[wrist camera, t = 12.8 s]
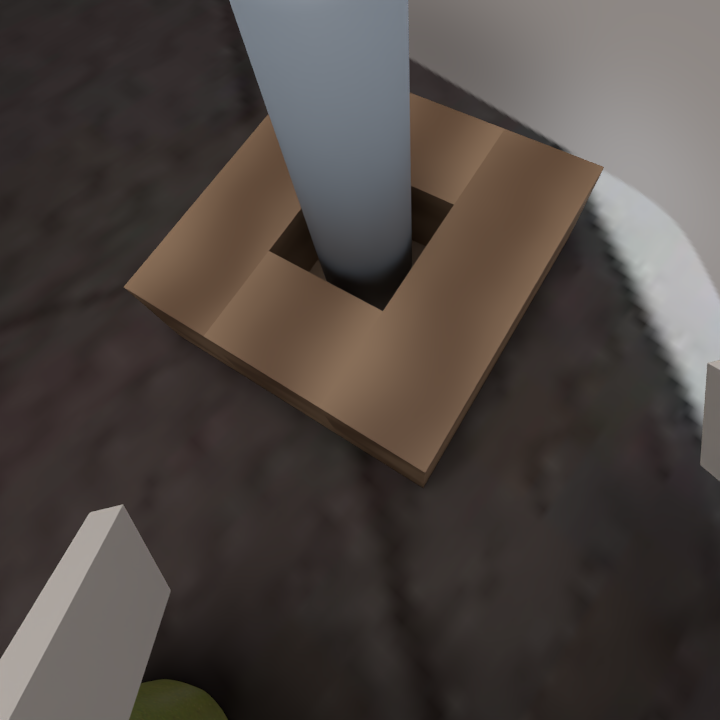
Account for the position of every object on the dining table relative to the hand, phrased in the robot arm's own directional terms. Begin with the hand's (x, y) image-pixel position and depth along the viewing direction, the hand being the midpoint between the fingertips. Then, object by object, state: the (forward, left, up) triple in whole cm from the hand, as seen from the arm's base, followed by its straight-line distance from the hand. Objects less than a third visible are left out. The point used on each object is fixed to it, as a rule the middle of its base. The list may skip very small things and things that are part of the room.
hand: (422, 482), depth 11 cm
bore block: (-7, +8, -10) cm, 15 cm away
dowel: (-7, +8, -9) cm, 14 cm away
